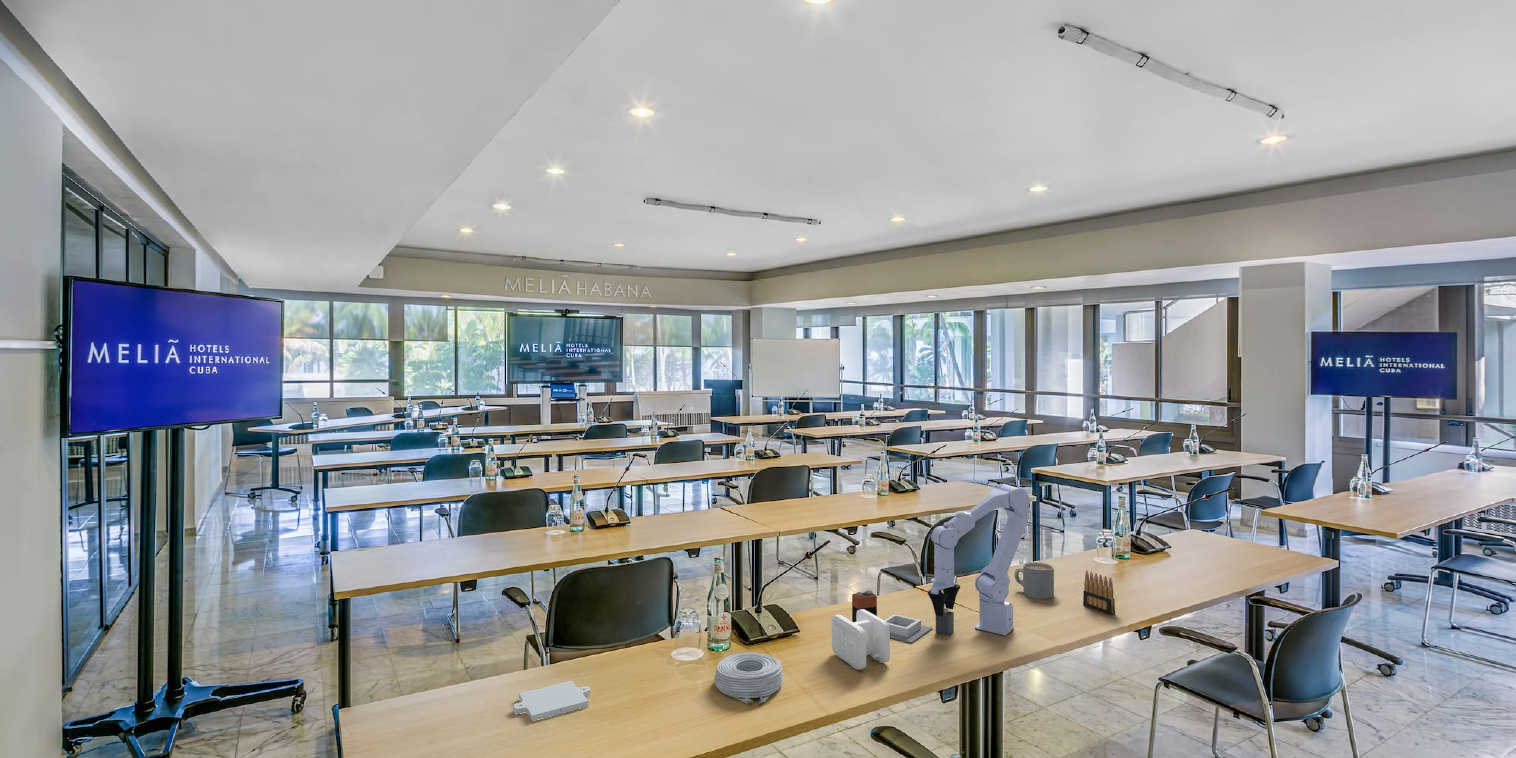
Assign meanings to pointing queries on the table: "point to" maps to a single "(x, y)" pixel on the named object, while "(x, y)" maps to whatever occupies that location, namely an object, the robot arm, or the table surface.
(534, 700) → the mounting plate
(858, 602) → the battery
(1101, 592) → the ammunition clip
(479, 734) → the table surface
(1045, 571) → the coffee mug
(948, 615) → the block
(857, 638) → the cable organizer
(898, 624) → the end holder
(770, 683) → the cable
